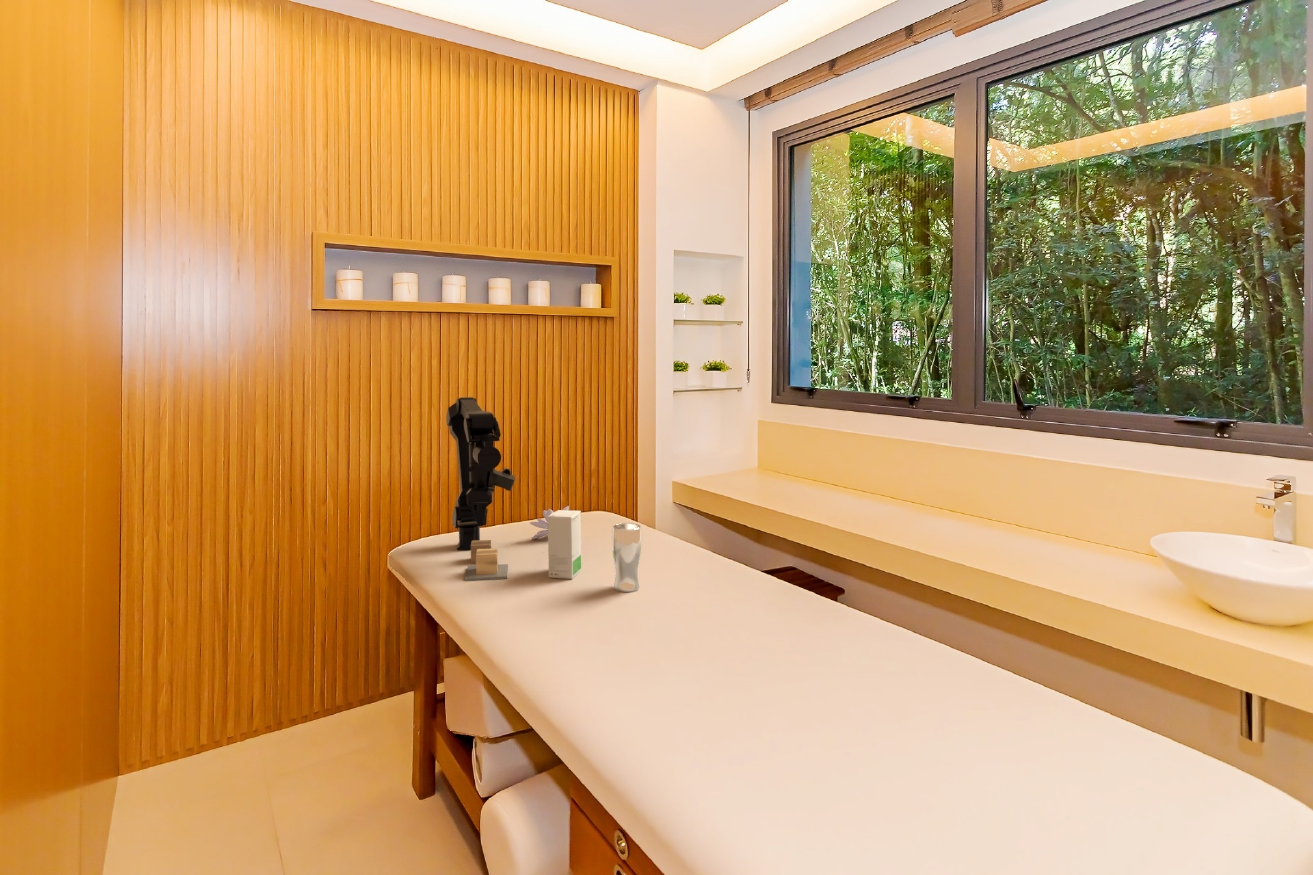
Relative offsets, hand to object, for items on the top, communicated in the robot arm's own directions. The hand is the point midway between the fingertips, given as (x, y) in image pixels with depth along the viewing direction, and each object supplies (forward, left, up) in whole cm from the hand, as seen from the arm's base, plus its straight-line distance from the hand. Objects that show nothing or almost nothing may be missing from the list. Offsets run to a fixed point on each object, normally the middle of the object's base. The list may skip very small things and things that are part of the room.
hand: (481, 521), depth 187 cm
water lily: (-22, +19, -12) cm, 32 cm away
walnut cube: (-3, -1, -12) cm, 12 cm away
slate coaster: (+8, +1, -12) cm, 14 cm away
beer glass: (+24, +34, -12) cm, 43 cm away
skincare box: (+11, +21, -12) cm, 26 cm away
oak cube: (+8, +2, -11) cm, 13 cm away
